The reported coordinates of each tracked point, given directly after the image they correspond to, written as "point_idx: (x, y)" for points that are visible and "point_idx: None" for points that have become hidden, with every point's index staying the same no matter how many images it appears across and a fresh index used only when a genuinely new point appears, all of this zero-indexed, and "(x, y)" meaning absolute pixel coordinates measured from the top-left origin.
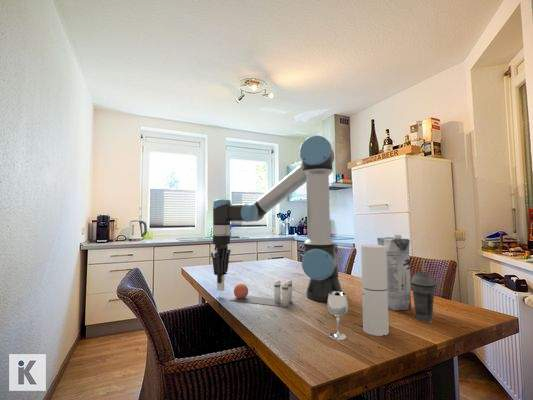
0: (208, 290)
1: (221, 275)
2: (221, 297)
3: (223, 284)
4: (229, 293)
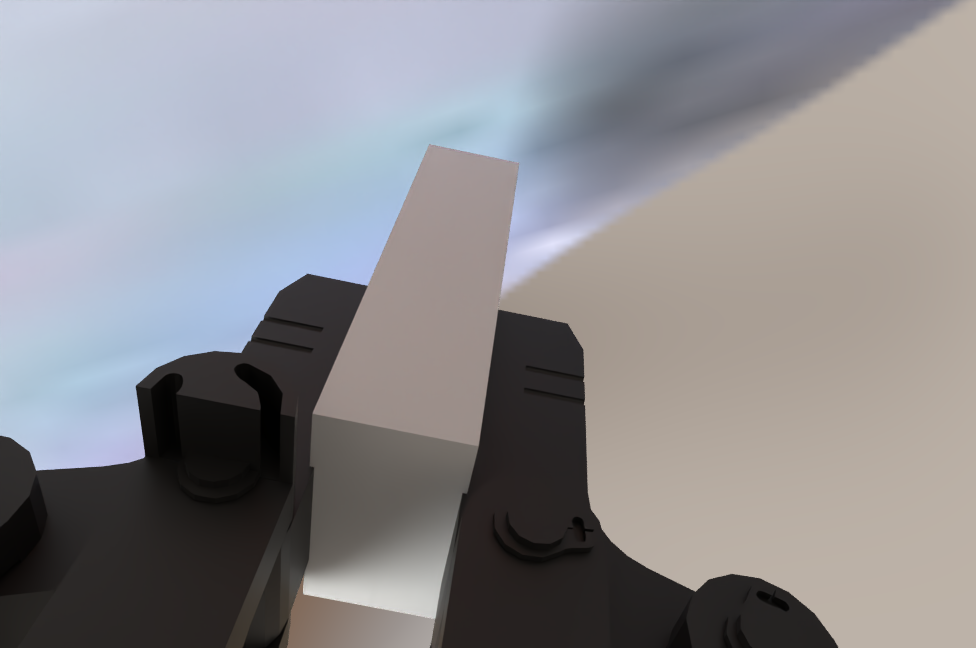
0: None
1: (566, 488)
2: (553, 125)
3: (459, 225)
4: (215, 42)
